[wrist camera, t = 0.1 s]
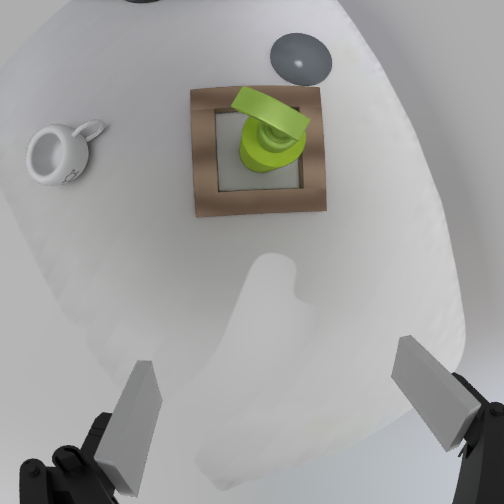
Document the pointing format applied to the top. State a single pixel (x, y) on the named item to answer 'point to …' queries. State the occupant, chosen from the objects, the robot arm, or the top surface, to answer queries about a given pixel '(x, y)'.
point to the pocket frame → (265, 200)
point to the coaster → (301, 59)
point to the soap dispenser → (269, 131)
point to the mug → (59, 153)
